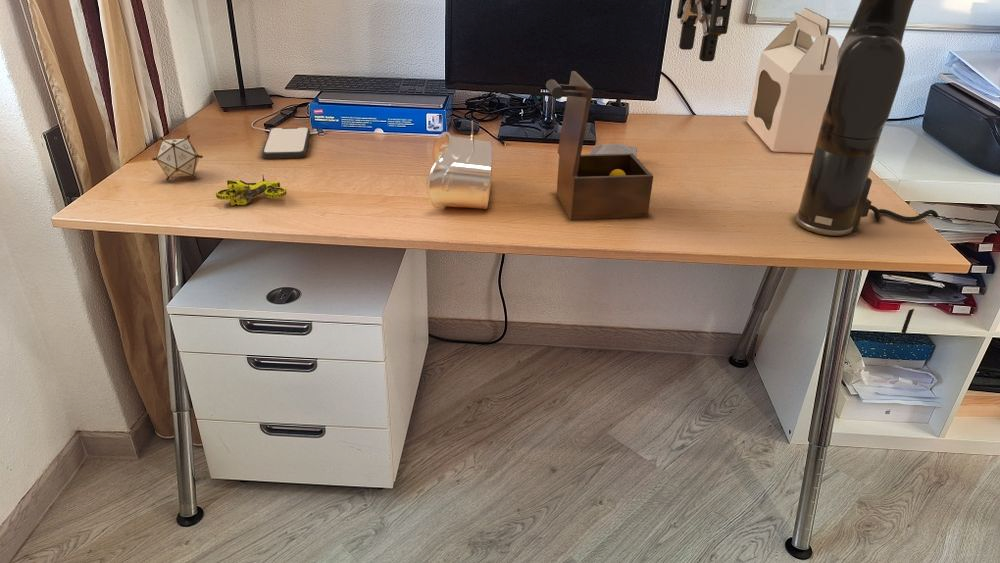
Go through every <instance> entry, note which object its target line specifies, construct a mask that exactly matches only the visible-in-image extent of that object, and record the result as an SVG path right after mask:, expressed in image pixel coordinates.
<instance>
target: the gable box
mask: <svg viewBox="0 0 1000 563" xmlns="http://www.w3.org/2000/svg"><path fill="white" fill-rule="evenodd" d="M794 17H795V20H792V21H791V22H790V23H789V24H788V25H787V26H786V27H784V29H782V31H781V32H780V33H779V34H778V35H777V36H776V37H775V38H774V39H773V40H772V41H771V42H770V43H769V44H768V45H767V46H766V47H765V49H764V50H762V51H761V52H760V57H759V62H758V66H757V71H756V75H755V80H754V86H753V90H752V95H751V99H750V100H751V101H750V104H749V110H748V115H747V120H746V123H747V124H748V125H749V126H750V128H751V129H752V130H753V131H754V132H755V134H757V137H759V138H760V139H761V140H762V142H763V143H764V144H765V145H766V146H767V147H768V148H769V149H770V151H771V152H774V153H795V154H814V150H815V146H816V142H817V138H818V134H819V130H820V127H821V122H822V118H823V114H824V112H825V110H826V107H827V104H828V102H829V98H830V94H831V90H832V86H833V83H834V79H835V75H836V71H837V67H838V66H837V56H838V51H839V49H840V46H839V43H838V41H837V39H836V37H835V36H832V35H831V34H829V30H830V23H831V22H830V19H829V18H827V17H825V16H823V15H822V14H819V13H817V12H815V11H813V10H811V9H809V8H807V7H803V8H802V9H801V11H800V14H799V13H797V12H794ZM813 38H814V39H815V40H814V41H813Z"/></svg>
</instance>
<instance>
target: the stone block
mask: <svg viewBox="0 0 1000 563" xmlns="http://www.w3.org/2000/svg"><path fill="white" fill-rule="evenodd" d="M637 152H638V146H630V145H626V144H622V143H613V142H611V143H605V144H599V145H594V146H593V148H592V149H591V150H590V152H589V153H588V155H590V154H630V153H633V154H634V156H635V157H636V158H637Z"/></svg>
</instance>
